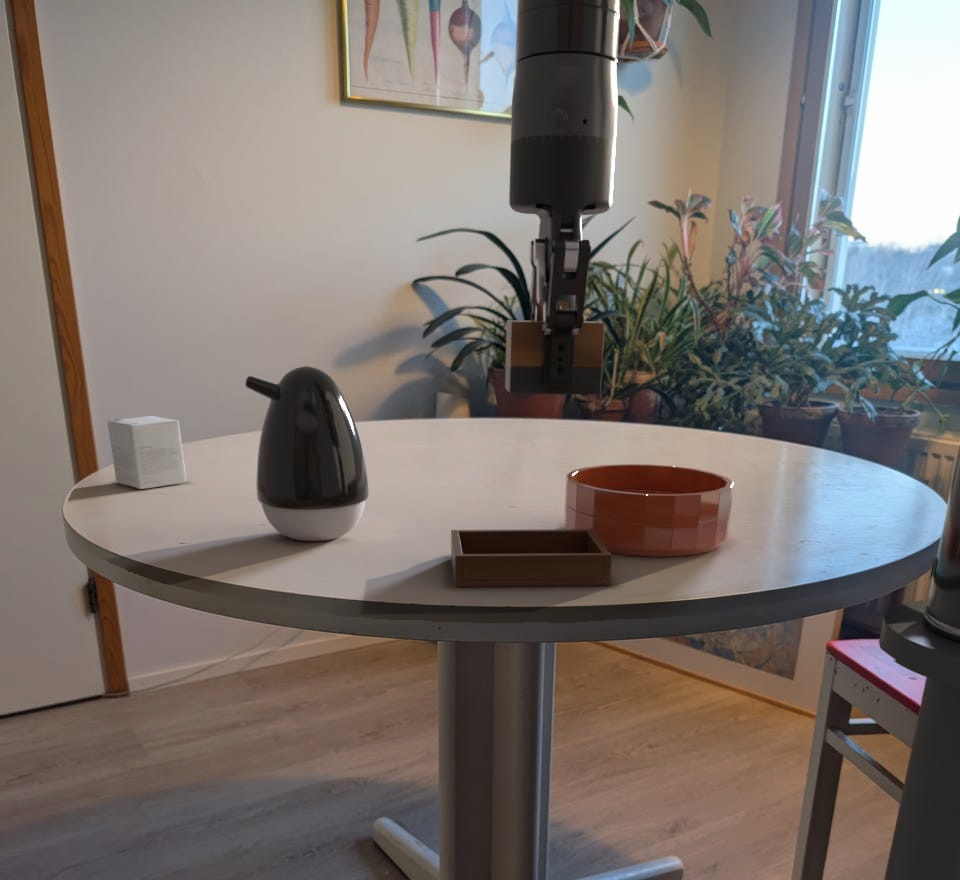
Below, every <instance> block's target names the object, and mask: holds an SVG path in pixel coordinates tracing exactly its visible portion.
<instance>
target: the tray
mask: <svg viewBox="0 0 960 880" xmlns="http://www.w3.org/2000/svg"><path fill="white" fill-rule="evenodd" d="M450 531H451V532H450V560H451V567H452V573H453V582H454V587H455V588H480V587H481V588H482V587H483V588H485V587H486V588H487V587H497V588H498V587H574V586H575V587H577V586H578V587H580V586H581V587H584V586H587V587H589V586H593V587H595V586H596V587H597V586H611V576H612V575H611V574H612V560H613V559H612V558H613V554H612V552H609V551H608V549H607V548H606V547H605V545H604V544H603V543H602V542H601V540H600V539H599V538H598V536H597V535H596V534H595V532H594V531H593V530H592V529H586V530H585V529H565V528H564V529H451V530H450Z"/></svg>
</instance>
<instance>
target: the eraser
mask: <svg viewBox="0 0 960 880" xmlns="http://www.w3.org/2000/svg"><path fill="white" fill-rule="evenodd" d="M542 324H543V321H532V320H527V319H526V320H520V319H519V320H518V319H516V320H515V319H507V320H506V333H505V334H506V336H505V337H506V339H505V342H506V343H505V375H504V376H505V377H504V380H505V381H504V388H505V390H506V391H507V392H508V393H509V394H510V395H575V396H577V395H578V396H579V395H581V396H582V395H584V396H585V395H590V396H591V395H592V396H600V395H601V392H602V378H603V377H602V376H603V363H604V362H603V361H604V345H605V344H604V343H605V328H606V324H605V322H602V321H601V322H600V321H594V320H591V321H590V320H589V321H587V320H584V322H583V323H582V327H581V329H579V332H578V333H577V337H571V338H575V339H574V359H573V379H572V386H571V388H569V389H568V390H548V389H546V388H545V387H544V386H543V384H542V375H543V349H544V338H550V337H544V335H543V332H542Z"/></svg>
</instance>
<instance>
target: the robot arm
mask: <svg viewBox="0 0 960 880" xmlns="http://www.w3.org/2000/svg"><path fill="white" fill-rule="evenodd" d="M620 18H621V0H518V4H517V19H516V20H517V21H516V23H517V25H516V26H517V27H516V28H517V29H516V59H515V63H516V65H515V75H514V83H513V89H512V90H513V91H512V96H511V97H512V98H511V115H510V116H511V117H510V121H511V122H510V152H509V153H510V154H509V155H510V156H509V158H510V160H509V197H508V199H509V200H508V202H509V203H508V205H509V207H510V208H511V210H512V211H514V212H516V213H519V214H525V215H536V216H537V217H538V219H539V228H538V238H534V239H533V240H530V242H529V251H528V252H529V255H528V260H529V263H530V265H531V273H530V289H529V297H530V300H531V313H530V321H543V324H542V332H543V335H544V337H550V338H544V349H543V375H542V384H543V386H544V387H545V388H546V389H548V390H568V389H569V388H571V386H572V379H573V359H574V339H575V338H571V337H577V333H578V332H579V329H581V327H582V323H583V322H584V321H585V317H584V309H585V301H586V300H585V299H586V290H587V282H588V281H587V280H588V272H589V271H588V270H589V263H590V262H589V261H590V255H591V253H592V245H591V242H590V239H583V230H582V229H583V228H582V227H583V226H582V216H588V215H589V216H591V215H592V216H593V215H598V214H604V213H607V212H608V211H609V210H610V209H611V207H612V205H613V193H614V177H615V163H616V162H615V161H616V146H617V145H616V144H617V131H618V130H617V129H618V128H617V127H618V114H619V113H618V112H619V95H618V94H619V92H618V91H619V90H618V64H617V63H618V53H619V52H618V51H619V36H620ZM958 446H959V447H958V451H957V457H956V461H955V467H954V471H953V476H952V480H951V485H950V492H949V496H948V500H947V507H946V511H945V515H944V521H943V525H942V531H941V536H940V541H939V545H938V549H937V550H938V551H937V554H936V556H935V557H934V558H933V561H932V567H931V571H930V576H929V579H932V580H931V585H930V589H929V592H928V597H927V600H928V601H927V602H928V604H927V606H926V607H925V612H924V617H923V623H924V625H925V626H926V627H927V628H928V629H929V630H931V631H932V632H934V633H936V634H938V635H940V636H942V637H944V638H946V639H949V640H952V641H955V642H958V643H960V445H958Z"/></svg>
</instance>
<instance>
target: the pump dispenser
mask: <svg viewBox="0 0 960 880" xmlns="http://www.w3.org/2000/svg"><path fill="white" fill-rule="evenodd" d="M244 383H245V385H244V386H245V387H246V388H247V389H248V390H252V391H253V392H255V393H257V394H259V395H261V396H263V397H265V398H268V399H269V400H270V402H269V404H268V408H267V410H266V413H265V416H264V421H263V424H262V429H261V433H260V439H259V444H258V452H257V463H256V482H255V483H256V485H255V486H256V499H257V501H258V502H259V503H260V504H261V507H262V511H263V513H264V515H265V517H266V519H267V521H268V523H269V524H270V525H271V526H272V527H273V528H274V529H275V530H276V531H277V532H278V533H280V534H281V535H283V536H285V537H286V538H290V539H292V540H295V541H300V542H323V541H331V540H335V539H338V538H341V537H343V536H345V535H346V534H348V533H349V532H351V531H352V530H353V529H354V528H355V527H356V525H358V523H359V521H360V520H361V517H362V516H363V512H364V509H365V505H366V501H367V499H368V498H369V497H370V496H369V495H370V489H369V487H370V486H369V478H368V471H367V464H366V459H365V454H364V449H363V447H362V446H363V445H362V441H361V437H360V435H359V431H358V427H357V426H356V423H355V421H354V418H353V415H352V413H351V411H350V408H349V405H348V404H347V401H346V400H345V397H344V395H343V392H342V391H341V390H340V388H339V386H338V385H337V383H336V382H335V381H334V379H333V378H332V377H331V376H330V375H329V374H328V373H327V372H325V371H324V370H322V369H320V368H317V367H314V366H307V365H303V366H299V367H296V368H293V369H291V370H289V371H288V372H286V373H285V374H284V375H283V376H282V377H281V379H280V380H279V382H278V383H274V382H271V381H267V380H264V379H261V378H258V377H255V376H253V375H249V376H247V377H246V380H245V382H244Z"/></svg>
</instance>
